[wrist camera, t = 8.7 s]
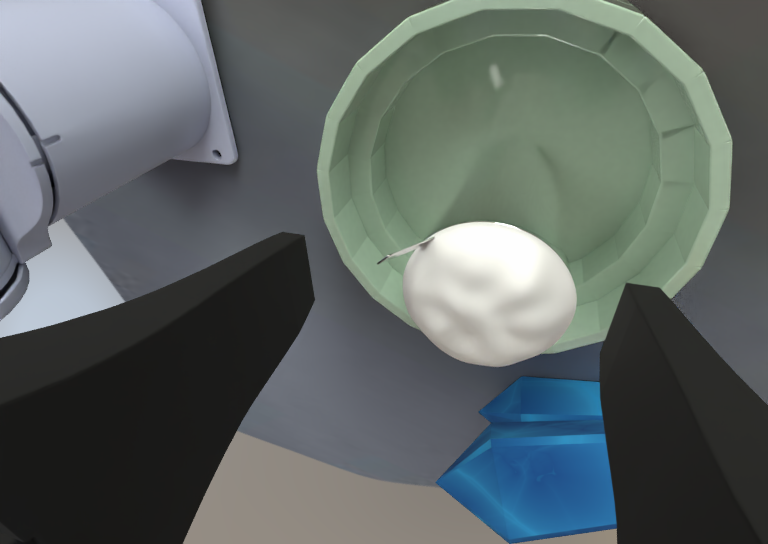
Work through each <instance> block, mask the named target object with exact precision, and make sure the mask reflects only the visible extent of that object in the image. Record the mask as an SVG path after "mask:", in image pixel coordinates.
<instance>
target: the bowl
mask: <svg viewBox="0 0 768 544" xmlns="http://www.w3.org/2000/svg"><path fill="white" fill-rule="evenodd" d="M510 139H511V140H515V141H519V142H523V143H527V144H531V145H535V146H537V147H538V149H539V150H540V151H541V152H542V154H543V155H544V156H545V157H546V159H547V160H548V161H549V162H550V164H551V165H552V167H553V173H554V179H555V186H556V193H557V199H558V206H559V213H560V219H561V226H562V231H563V236H564V241H565V246H566V250H567V255H568V260H569V264H570V269H571V273H572V278H573V281H574V284H575V288H576V295H577V304H576V311H575V314H574V317H573V319H572V321H571V323H570V325H569V327H568V328H567V330H566V331H565V333H564V334H563V335H562V337H561V338H560V339H559V340H558V341H557V342H556V343H555V344H554V345H552V346H551V347H550V348H549V349H547V350H546V351H544V352H542V353H541V354H553V353H559V352H563V351H567V350H571V349H574V348H578V347H582V346H586V345H590V344H594V343H598V342H602V341H605V338H606V336H607V333H608V330H609V327H610V325H611V322H612V319H613V317H614V314H615V311H616V308H617V306H618V303H619V300H620V297H621V295H622V292H623V289H624V287H625V284H626V283H632V284H639V285H646V286H653V287H660V288H661V289H662V291H663V292H664V293H665V294H666V295H667V296H668V297H669V298H670V300H671V299H672V298H673V297H674V296H675V295H676V294H677V293H678V292H679V291H680V290H681V289H682V288H683V287H684V286H685V285H686V284H687V283H688V282H689V281H690V280H691V279H692V278H693V277H694V276H695V274H696V273H697V272H698V271H699V270H700V269H701V267H703V264H704V262H705V260H706V258H707V256H708V254H709V252H710V250H711V247H712V245H713V243H714V241H715V239H716V237H717V235H718V233H719V230H720V228H721V226H722V224H723V222H724V220H725V218H726V215H727V213H728V211H729V208H730V192H731V169H732V147H733V141H732V137H731V134H730V132H729V130H728V127H727V125H726V122H725V120H724V117H723V115H722V112H721V110H720V108H719V105H718V103H717V100H716V98H715V95H714V93H713V90H712V88H711V86H710V83H709V81H708V78H707V76H706V73H705V72H704V71H703V69H702V68H701V67H700V66H699V65H698V64H697V63H696V62H695V61H694V60H692V59H691V58H690V57H689V56H688V55H687V54H686V53H685V52H684V51H683V50H682V49H681V48H680V47H679V46H677V45H676V44H675V43H674V42H673V41H672V40H671V39H670V38H669V37H668V36H667V35H666V34H665V33H663V32H662V31H661V30H660V29H659V28H658V27H657V26H656V25H655V24H654V23H653V22H652V21H651V20H650V19H648V18H647V17H646V16H645V15H644V14H643V13H642V12H641V11H639V10H638V9H637V8H636V7H635V6H634V5H633V4H631V3H630V2H628V1H627V0H444V1H441V2H439V3H437V4H435V5H432V6H430V7H428V8H426V9H424V10H422V11H420V12H418V13H415V14H413V15H411V16H410V17H408V18H406V19H405V20H404V21H403V22H402V23H400V24H399V25H398V26H397V27H396V28H395V29H394V30H392V31H391V32H390V33H389V34H388V35H387V36H386V37H384V38H383V39H382V40H381V41H380V42H379V43H378V44H377V45H375V46H374V47H373V48H372V49H371V50H370V51H369V52H367V53H366V54H365V55H364V56H363V57H362V58H361V59H359V60H358V61H357V63H356V64H355V65H354V67H353V69H352V71H351V72H350V74H349V76H348V78H347V79H346V81H345V83H344V85H343V87H342V88H341V90H340V92H339V94H338V95H337V97H336V99H335V101H334V103H333V104H332V106H331V108H330V110H329V112H328V113H327V116H326V120H325V125H324V131H323V136H322V142H321V147H320V153H319V158H318V164H317V177H318V185H319V192H320V199H321V207H322V214H323V219H324V222H325V224H326V226H327V228H328V230H329V233H330V235H331V237H332V239H333V241H334V244H335V246H336V248H337V250H338V253H339V255H340V257H341V259H342V261H343V263H344V264H345V265H346V267H347V268H348V269H349V270H350V271H351V273H352V274H353V275H354V276H355V278H356V279H357V280H358V281H359V282H360V284H361V285H362V286H363V287H364V288H365V290H366V291H367V292H368V293H369V294H370V296H371V297H372V298H373V299H374V300H376V301H377V302H378V303H380V304H381V305H383V306H384V307H385V308H387V309H388V310H389V311H391V312H392V313H393V314H395V315H396V316H397V317H399V318H400V319H401V320H403V321H404V322H405V323H407V324H408V325H411V327H414V328H416V329H418V330H420V328H419V327H418V326H417V325H416V324H415V322H414V321H413V320H412V318H411V316H410V315H409V313H408V310H407V308H406V304H405V301H404V296H403V275H404V270H405V267H406V265H407V262H408V260H409V259H410V257H411V255H412V254H413V253H414V251H415V250H416V249H415V250H413V251H410V252H408V253H405V254H403V255H401V256H398V257H396V258H393V259H391V260H389V261H386V262H384V263H381V264H379V265H377V263H378V262H379V261H380V260H382V259H383V258H384V257H386V256H387V255H389V254H391V253H394V252H396V251H399V250H401V249H404V248H406V247H409V246H411V245H414V244H416V243H419V242H421V241H422V240H423V239H424V237H425V236H426V234H427V233H428V232H429V230H430V229H431V227H432V226H433V225H434V223H435V222H436V220H437V219H438V218H439V216H440V215H441V214H442V212H443V211H444V210H445V209H446V207H447V206H448V205H449V204H450V202H451V200H452V199H453V197H454V196H455V194H456V192H457V191H458V189H459V187H460V186H461V184H462V183H463V181H464V179H465V178H466V176H467V174H468V173H469V171H470V170H471V168H472V167H473V165H474V164H475V163H476V161H477V160H478V158H479V157H480V155H481V154H482V152H483V151H484V149H486V148H488V147H491V146H494V145H496V144H499V143H502V142H504V141H507V140H510ZM420 331H421V330H420Z"/></svg>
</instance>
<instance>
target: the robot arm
mask: <svg viewBox="0 0 768 544" xmlns="http://www.w3.org/2000/svg"><path fill="white" fill-rule="evenodd" d="M217 150H218V151H219V152H220V153H221V156H220V155H219V154H218V152H217ZM170 159H175V160H185V161H195V162H205V163H215V164H225V165H231V164H233V163H234V162H236V161H237V159H238V152H237V148H236V143H235V139H234V135H233V131H232V127H231V123H230V119H229V115H228V110H227V106H226V102H225V98H224V94H223V90H222V86H221V81H220V77H219V73H218V69H217V65H216V61H215V57H214V52H213V48H212V44H211V40H210V36H209V32H208V28H207V24H206V19H205V15H204V11H203V7H202V3H201V0H0V321H1V320H2V319H3V318H4V317H5V316H6V315H8V314H9V313H10V312H11V311H12V309H13V308H14V307H15V306H16V305H17V304H18V303H19V301H20V300H21V299H22V297H23V295H24V294H25V292H26V290H27V287H28V284H29V270H28V268H27V265H26V263H25V262H26V261H28V260H29V259H31V258H33V257H34V256H36V255H38V254H40V253H41V252H43V251H44V250H46V249H48V248H50V247H51V246H52V243H51V240H50V237H49V234H48V226H50V225H51V224H53V223H55V222H57V221H59V220H60V219H62V218H64V217H66V216H68V215H70V214H72V213H73V212H75V211H77V210H79V209H81V208H82V207H84V206H86V205H88V204H90V203H92V202H93V201H95V200H97V199H99V198H101V197H102V196H104V195H106V194H108V193H110V192H112V191H113V190H115V189H117V188H119V187H121V186H122V185H124V184H126V183H128V182H130V181H132V180H133V179H135V178H137V177H139V176H141V175H143V174H144V173H146V172H148V171H150V170H152V169H153V168H155V167H157V166H159V165H161V164H163V163H164V162H166V161H168V160H170ZM314 301H315V297H314V291H313V285H312V279H311V273H310V267H309V260H308V254H307V248H306V242H305V236H304V235H299V234H292V233H285V232H281V233H279V234H276V235H274V236H271V237H269V238H267V239H265V240H262V241H260V242H258V243H256V244H254V245H252V246H250V247H248V248H246V249H244V250H242V251H240V252H238V253H236V254H234V255H232V256H230V257H228V258H226V259H224V260H222V261H220V262H218V263H216V264H214V265H211V266H209V267H207V268H205V269H203V270H201V271H199V272H197V273H194V274H192V275H190V276H188V277H185V278H183V279H181V280H179V281H177V282H174V283H172V284H170V285H168V286H166V287H163V288H161V289H158V290H156V291H154V292H151V293H149V294H146V295H143V296H141V297H138V298H135V299H133V300H130V301H127V302H125V303H122V304H119V305H116V306H113V307H111V308H108V309H105V310H101V311H98V312H95V313H92V314H88V315H85V316H81V317H78V318H75V319H72V320H68V321H65V322H62V323H58V324H55V325H51V326H47V327H44V328H40V329H36V330H32V331H28V332H24V333H20V334H15V335H12V336H6V337H2V338H0V544H183V542H184V539H185V537H186V535H187V533H188V530H189V528H190V526H191V524H192V522H193V519H194V517H195V515H196V512H197V510H198V508H199V506H200V504H201V502H202V499H203V497H204V495H205V493H206V491H207V489H208V487H209V485H210V482H211V480H212V478H213V476H214V474H215V472H216V470H217V468H218V466H219V464H220V462H221V460H222V458H223V456H224V454H225V452H226V450H227V448H228V446H229V444H230V443H231V441H232V439H233V437H234V435H235V433H236V431H237V429H238V428H239V426H240V424H241V422H242V420H243V418H244V417H245V415H246V413H247V412H248V410H249V408H250V407H251V405H252V403H253V402H254V400H255V399H256V397H257V396H258V394H259V393H260V391H261V390H262V388H263V387H264V386H265V384H266V383H267V381H268V380H269V378H270V377H271V375H272V374H273V372H274V371H275V369H276V368H277V366H278V365H279V363H280V362H281V360H282V359H283V357H284V356H285V354H286V353H287V351H288V350H289V348H290V346H291V345H292V343H293V342H294V340H295V339H296V337H297V336H298V334H299V332H300V330H301V328H302V326H303V324H304V322H305V320H306V318H307V316H308V314H309V312H310V310H311V307H312V305H313V303H314ZM600 401H601V409H602V416H603V424H604V431H605V438H606V445H607V452H608V459H609V466H610V473H611V480H612V487H613V494H614V502H615V512H616V522H617V544H768V405H767V404H766V403H765V402H764V401H763V400H762V399H761V398H760V397H759V396H758V395H757V394H756V393H755V392H754V391H753V390H752V389H751V388H750V387H749V386H748V385H747V384H746V383H745V382H744V381H743V380H742V379H741V378H740V377H739V376H738V375H737V374H736V373H735V372H734V371H733V370H732V369H731V368H730V366H729V365H728V364H727V363H726V362H725V361H724V360H723V359H722V358H721V357H720V356H719V355H718V353H717V352H716V351H715V350H714V349H713V348H712V347H711V346H710V345H709V343H708V342H707V341H706V340H705V339H704V338H703V337H702V336H701V334H700V333H699V332H698V331H697V330H696V329H695V328H694V326H693V325H692V324H691V323H690V322H689V321H688V319H687V318H686V317H685V316H684V315H683V314H682V312H681V311H680V310H679V309H678V308H677V307H676V305H675V304H674V303H673V302H672V301H671V300H670V298H669V297H668V296H667V295H666V294H665V293H664V292H663V291H662V289H661V288H660V287H653V286H646V285H639V284H632V283H626V284H625V287H624V289H623V292H622V295H621V297H620V300H619V303H618V306H617V308H616V311H615V314H614V317H613V319H612V322H611V325H610V327H609V330H608V333H607V336H606V338H605V341H604V344H603V347H602V349H601V352H600Z"/></svg>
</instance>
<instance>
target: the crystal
mask: <svg viewBox="0 0 768 544" xmlns="http://www.w3.org/2000/svg"><path fill="white" fill-rule="evenodd" d="M479 413H480V414H481V415H482V416H484V417H485V418H486V419H487V420H488V421H490V422H491V424H490V425H489V426H488V427H487V428H486V429H485V430H484V431H483V432H482V433H481V434H480V436H479V437H478V438H477V439H476V440H475V441H474V442H473V443H472V444H471V445H470V446H469V447H468V448H467V449H466V450H465V451H464V453H463V454H462V455H461V456H460V457H459V458H458V459H457V460H456V461H455V462H454V463H453V464H452V465H451V466H450V467H449V468H448V470H447V471H446V472H445V473H444V474H443V475H442V476H441V477H440V478H439V479H438V480H437V481H436V482H435V483H437V484H438V485H439V486H440V487H441V488H443V489H444V490H445V491H446V492H447V493H449V494H450V495H451V496H452V497H453V498H455V499H456V500H457V501H458V502H460V503H461V504H462V505H463V506H464V507H466V508H467V509H468V510H469V511H471V512H472V513H473V514H474V515H475V516H477V517H478V518H479V519H480V520H481V521H483V522H484V523H485V524H486V525H487V526H489V527H490V528H491V529H492V530H493V531H495V532H496V533H497V534H498V535H500V536H501V537H502V538H503V539H504V540H506V541H507V542H508V543H509V544H512V543H519V542H526V541H533V540H540V539H547V538H554V537H561V536H568V535H575V534H582V533H589V532H596V531H602V530H608V529H616V528H617V522H616V512H615V502H614V494H613V487H612V480H611V473H610V466H609V459H608V452H607V445H606V438H605V431H604V424H603V416H602V409H601V401H600V382H593V381H579V380H566V379H553V378H539V377H526V376H521V377H520V378H519V379H518V380H517V381H515V382H514V383H513V384H512V385H510V386H509V387H508V388H507V389H506V390H504V391H503V392H502V393H501V394H500V395H498V396H497V397H496V398H495V399H494V400H492V401H491V402H490V403H489V404H487V405H486V406H485V407H484V408H483V409H481V410H480V411H479Z"/></svg>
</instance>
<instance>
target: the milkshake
mask: <svg viewBox="0 0 768 544" xmlns="http://www.w3.org/2000/svg"><path fill="white" fill-rule="evenodd" d="M415 249H416V250H415ZM413 250H415V251H414V253H413V254H412V255H411V257H410V259H409V260H408V262H407V265H406V267H405V270H404V275H403V296H404V301H405V304H406V308H407V310H408V313H409V315H410V316H411V318H412V320H413V321H414V322H415V324H416V325H417V326H418V327H419V328H420V330H421V331H422V332H423V333H424V334H425V335H426V336H427V337H428V338H429V339H430V340H431V341H432V342H433V343H434V344H435V345H436V346H437V347H438V348H439V349H441V350H442V351H443V352H445V353H446V354H448V355H450V356H451V357H453V358H455V359H458V360H460V361H463V362H466V363H470V364H476V365H483V366H491V367H503V366H508V365H511V364H514V363H517V362H520V361H523V360H526V359H529V358H532V357H534V356H537V355H539V354H541V353H542V352H544V351H546V350H547V349H549V348H550V347H551V346H552V345H554V344H555V343H556V342H557V341H558V340H559V339H560V338H561V337H562V335H563V334H564V333H565V331H566V330H567V328H568V327H569V325H570V323H571V321H572V319H573V317H574V314H575V311H576V304H577V295H576V288H575V284H574V281H573V278H572V273H571V269H570V264H569V260H568V255H567V250H566V246H565V241H564V236H563V231H562V226H561V219H560V213H559V206H558V199H557V193H556V186H555V179H554V173H553V167H552V165H551V164H550V162H549V161H548V160H547V159H546V157H545V156H544V155H543V154H542V152H541V151H540V150H539V149H538V147H537V146H535V145H531V144H527V143H523V142H519V141H515V140H511V139H510V140H507V141H504V142H502V143H499V144H496V145H494V146H491V147H488V148H486V149H484V151H483V152H482V154H481V155H480V157H479V158H478V160H477V161H476V163H475V164H474V165H473V167H472V168H471V170H470V171H469V173H468V174H467V176H466V178H465V179H464V181H463V183H462V184H461V186H460V187H459V189H458V191H457V192H456V194H455V196H454V197H453V199H452V200H451V202H450V204H449V205H448V206H447V207H446V209H445V210H444V211H443V212H442V214H441V215H440V216H439V218H438V219H437V220H436V222H435V223H434V225H433V226H432V227H431V229H430V230H429V232H428V233H427V234H426V236H425V237H424V239H423V240H422V241H421V242H419V243H416V244H414V245H411V246H409V247H406V248H404V249H401V250H399V251H396V252H394V253H391V254H389V255H387V256H386V257H384V258H383V259H382V260H380V261H379V262H378V263H377V265H379V264H381V263H384V262H386V261H389V260H391V259H393V258H396V257H398V256H401V255H403V254H405V253H408V252H410V251H413Z"/></svg>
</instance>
